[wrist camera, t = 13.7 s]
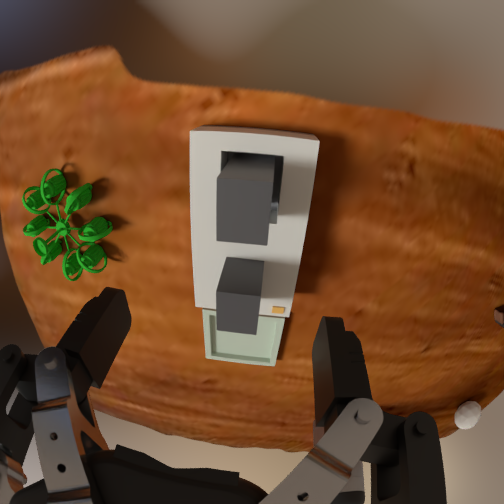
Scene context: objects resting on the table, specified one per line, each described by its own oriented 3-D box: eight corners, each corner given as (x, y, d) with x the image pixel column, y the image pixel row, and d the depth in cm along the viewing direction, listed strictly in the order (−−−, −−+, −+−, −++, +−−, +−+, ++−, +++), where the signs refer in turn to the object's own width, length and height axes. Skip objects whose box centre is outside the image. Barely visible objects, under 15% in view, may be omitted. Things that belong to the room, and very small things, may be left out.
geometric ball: (478, 398, 48) (486, 421, 41) (454, 413, 51) (460, 436, 44) (474, 391, 46) (483, 416, 39) (448, 407, 49) (455, 433, 42)
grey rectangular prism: (274, 155, 24) (273, 182, 17) (270, 202, 26) (267, 245, 19) (235, 152, 24) (216, 178, 17) (233, 199, 26) (216, 241, 20)
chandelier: (25, 169, 27) (-10, 188, 21) (109, 159, 26) (71, 180, 20) (50, 263, 35) (24, 290, 29) (129, 274, 34) (105, 310, 28)
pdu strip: (313, 134, 23) (331, 154, 16) (288, 293, 33) (289, 353, 25) (202, 125, 24) (166, 141, 16) (203, 283, 33) (183, 341, 26)
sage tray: (285, 311, 34) (284, 318, 33) (274, 359, 40) (274, 366, 39) (204, 302, 35) (202, 309, 34) (207, 351, 40) (206, 358, 39)
